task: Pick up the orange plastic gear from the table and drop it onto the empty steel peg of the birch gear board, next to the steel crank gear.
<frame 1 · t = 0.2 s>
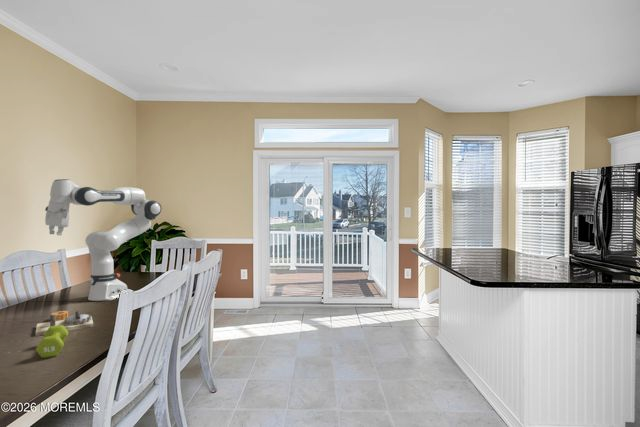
hand: (55, 234, 179), 39 cm above the table, tool pointing down, fingers open, 8 cm apart
gear board: (65, 326, 152), on the table
orange gear: (59, 319, 162), on the table
dumbbell: (53, 350, 128), on the table
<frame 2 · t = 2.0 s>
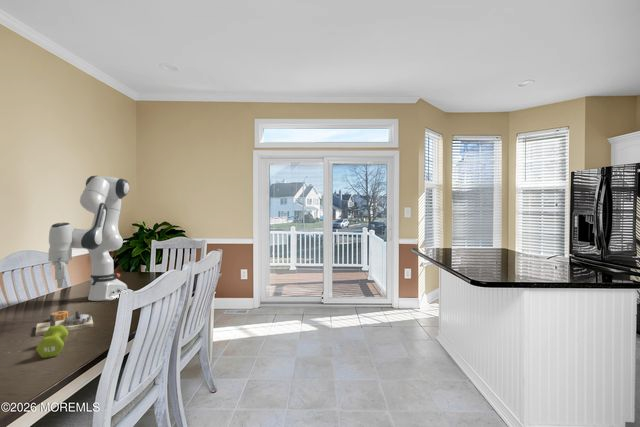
hand: (59, 285, 162), 16 cm above the table, tool pointing down, fingers open, 8 cm apart
nothing on the table moved.
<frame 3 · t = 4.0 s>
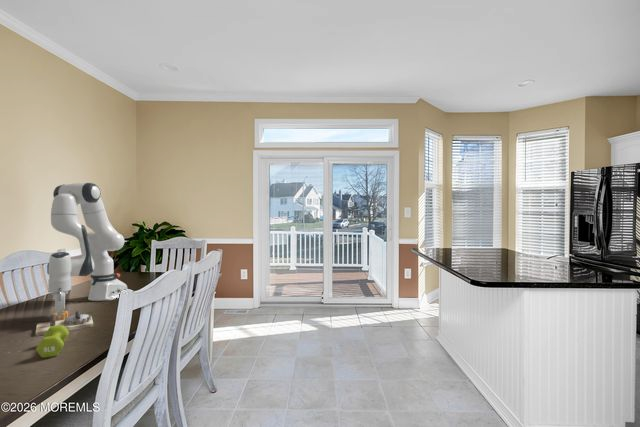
hand: (59, 315, 162), 2 cm above the table, tool pointing down, fingers closed on orange gear, 7 cm apart
orange gear: (59, 319, 162), on the table, touching gripper
everything else where it was.
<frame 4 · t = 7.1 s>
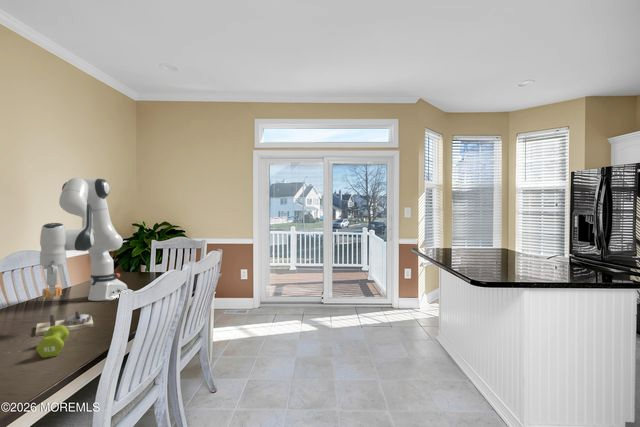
hand: (52, 291, 149), 17 cm above the table, tool pointing down, fingers closed on orange gear, 7 cm apart
orange gear: (52, 295, 149), point 15 cm above the table, touching gripper
everything else where it was.
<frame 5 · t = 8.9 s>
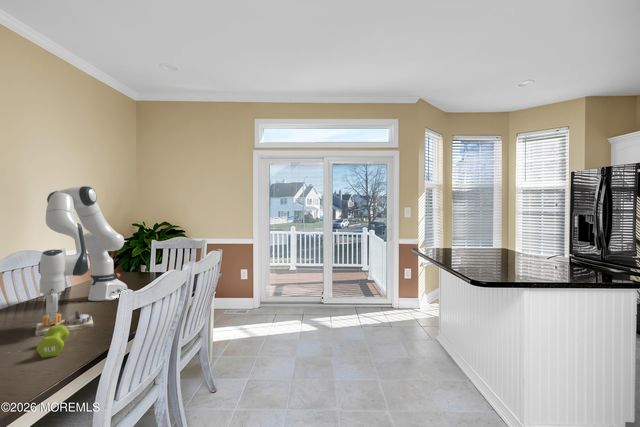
hand: (52, 318, 149), 5 cm above the table, tool pointing down, fingers closed on orange gear, 7 cm apart
orange gear: (51, 322, 149), point 3 cm above the table, touching gripper
everything else where it was.
when the fingers open (4 cm above the table, at t = 10.3 s): orange gear stays where it is, resting on gear board.
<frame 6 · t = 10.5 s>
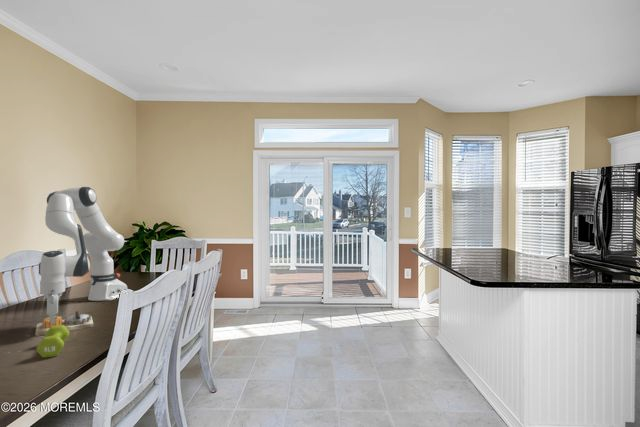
hand: (52, 319, 149), 4 cm above the table, tool pointing down, fingers open, 8 cm apart
orange gear: (52, 325, 149), point 1 cm above the table, touching gear board
everything else where it was.
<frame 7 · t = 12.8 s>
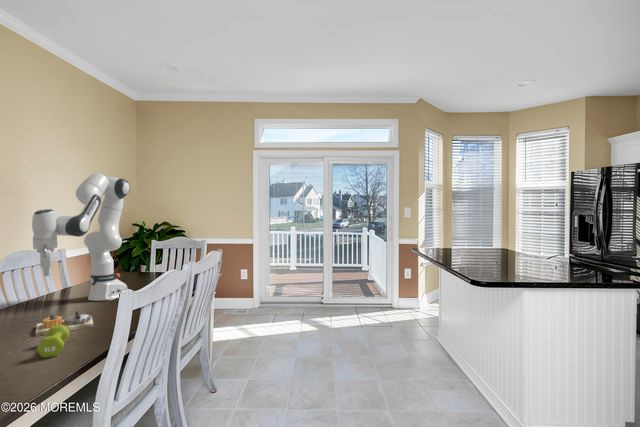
hand: (46, 273, 158), 22 cm above the table, tool pointing down, fingers open, 8 cm apart
nothing on the table moved.
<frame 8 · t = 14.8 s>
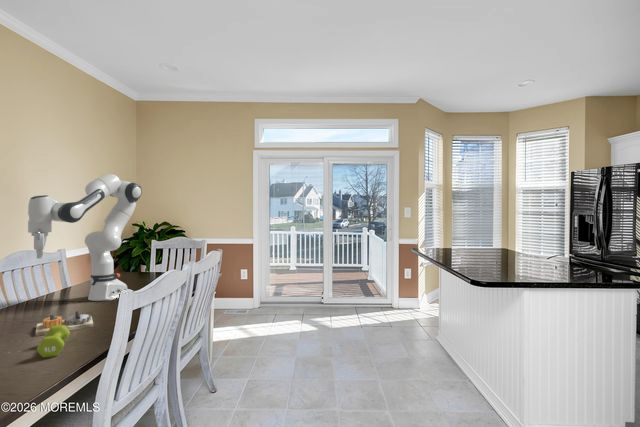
hand: (39, 257, 165), 29 cm above the table, tool pointing down, fingers open, 8 cm apart
nothing on the table moved.
at the end: orange gear 0.1 cm from the target spot on the gear board, point 1.5 cm above the gear board's base; orange gear tilted 0°; the gripper is holding nothing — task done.
